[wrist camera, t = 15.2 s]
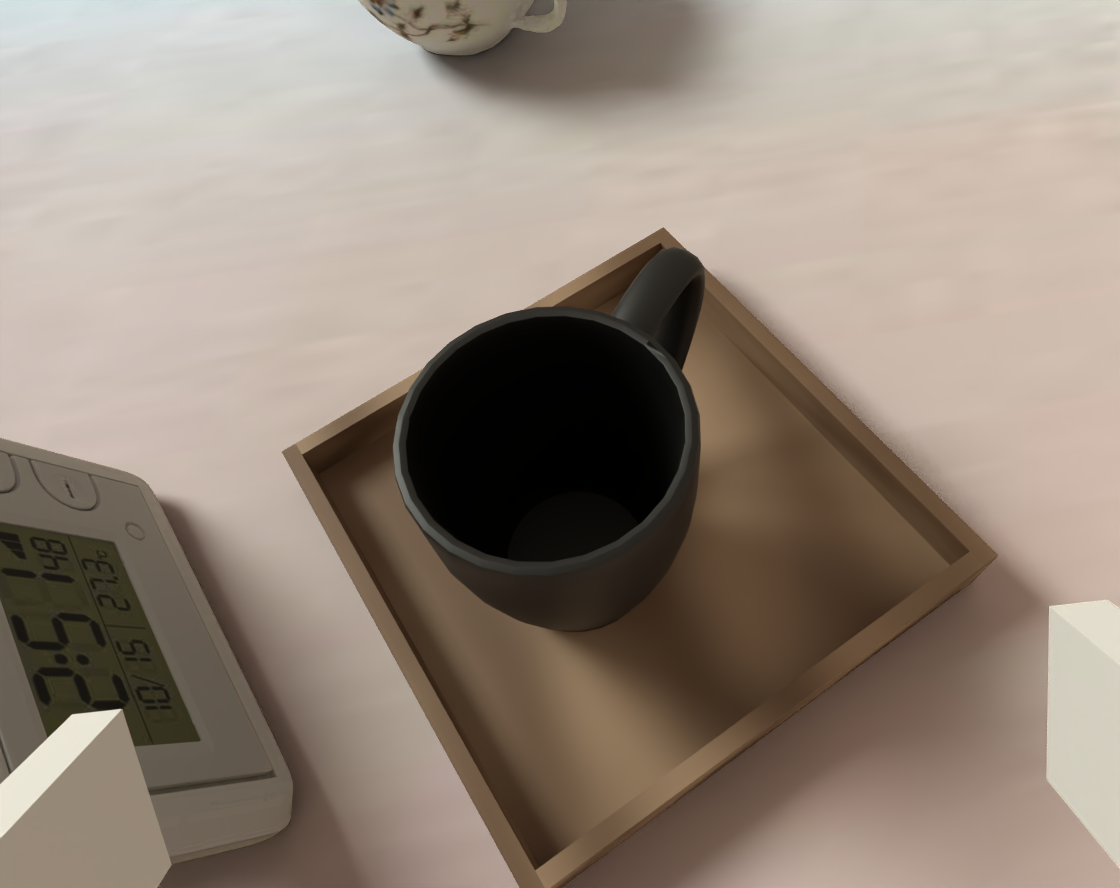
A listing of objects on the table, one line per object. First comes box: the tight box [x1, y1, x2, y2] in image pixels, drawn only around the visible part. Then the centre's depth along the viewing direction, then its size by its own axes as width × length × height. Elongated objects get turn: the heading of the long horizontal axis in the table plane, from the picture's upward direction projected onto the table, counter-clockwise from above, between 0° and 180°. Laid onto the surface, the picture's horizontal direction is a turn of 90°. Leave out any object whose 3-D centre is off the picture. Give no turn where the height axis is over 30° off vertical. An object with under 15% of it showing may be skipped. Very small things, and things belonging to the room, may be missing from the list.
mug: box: [393, 247, 705, 632], centre depth 26 cm, size 8×12×10 cm
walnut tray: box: [282, 227, 998, 888], centre depth 30 cm, size 18×18×2 cm
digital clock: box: [0, 438, 293, 864], centre depth 26 cm, size 16×9×11 cm, turn 23°
